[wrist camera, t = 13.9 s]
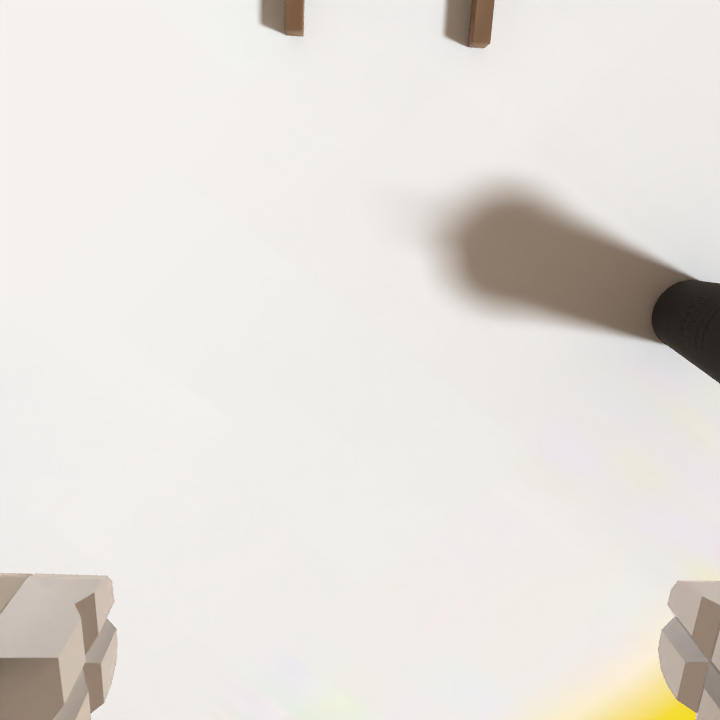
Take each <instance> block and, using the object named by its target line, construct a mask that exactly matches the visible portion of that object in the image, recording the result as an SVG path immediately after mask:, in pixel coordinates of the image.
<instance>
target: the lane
mask: <svg viewBox="0 0 720 720" xmlns="http://www.w3.org/2000/svg"><path fill="white" fill-rule="evenodd" d="M493 9H494V0H472V7H471V18H470V29H469V40H468V47H474V48H485V47H486V46H487V45H489V44H490V40H491V30H492V20H493ZM285 31H286V35H291V36H303V34H304V0H285Z"/></svg>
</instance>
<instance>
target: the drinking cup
mask: <svg viewBox="0 0 720 720" xmlns="http://www.w3.org/2000/svg"><path fill="white" fill-rule="evenodd" d="M652 324H653V328H654V331H655V333H656V335H657V336H658V338H659V339H660V340H661V341H662V342H664V343H665V344H666V345H668V346H669V347H670V348H672V349H673V350H675V351H676V352H677V353H679V354H680V355H681V356H683V357H684V358H686V359H687V360H688V361H690V362H691V363H693V364H694V365H695V366H697V367H698V368H699V369H701V370H702V371H704V372H705V373H706V374H708V375H709V376H710V377H712V378H713V379H715V380H716V381H717V382H719V383H720V284H719V283H711V282H704V281H696V280H688V281H682V282H679V283H677V284H675V285H673V286H671V287H670V288H668V289H667V290H666V291H665V292H664V293H663V294H662V295H661V296H660V298H659V299H658V301H657V302H656V304H655V307H654V310H653V315H652Z"/></svg>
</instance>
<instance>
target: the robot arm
mask: <svg viewBox="0 0 720 720" xmlns="http://www.w3.org/2000/svg"><path fill="white" fill-rule="evenodd" d="M113 603H114V594H113V586H112V581H111V580H110V578H109V577H108V576H97V575H63V574H34V575H33V574H16V573H0V720H91V713H92V712H93V711H94V710H96V709H97V708H98V707H99V706H101V705H102V704H103V703H104V702H105V699H106V697H107V694H108V691H109V689H110V686H111V683H112V679H113V674H114V670H115V665H116V658H117V630H116V628H115V627H114V626H113V624H112V623H111V622H110V621H109V620H108V619H107V616H108V614H109V612H110V610H111V608H112V606H113ZM667 605H668V606H669V608H670V610H671V612H672V613H673V615H674V618H673V619H672V620H671V621H670V622H669V623H668V624H667V625H666V626H665V627H664V628H663V629H662V630H661V636H660V642H659V647H658V652H659V659H660V667H661V671H662V673H663V676H664V678H665V681H666V683H667V685H668V687H669V689H670V690H671V692H672V693H673V695H674V696H675V698H676V699H677V700H678V701H679V702H681V703H682V704H684V705H685V706H687V707H688V708H690V709H691V710H693V711H694V712H696V719H695V720H720V581H677V582H676V584H675V585H674V586H673V588H672V589H671V592H670V596H669V600H668V604H667Z"/></svg>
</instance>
